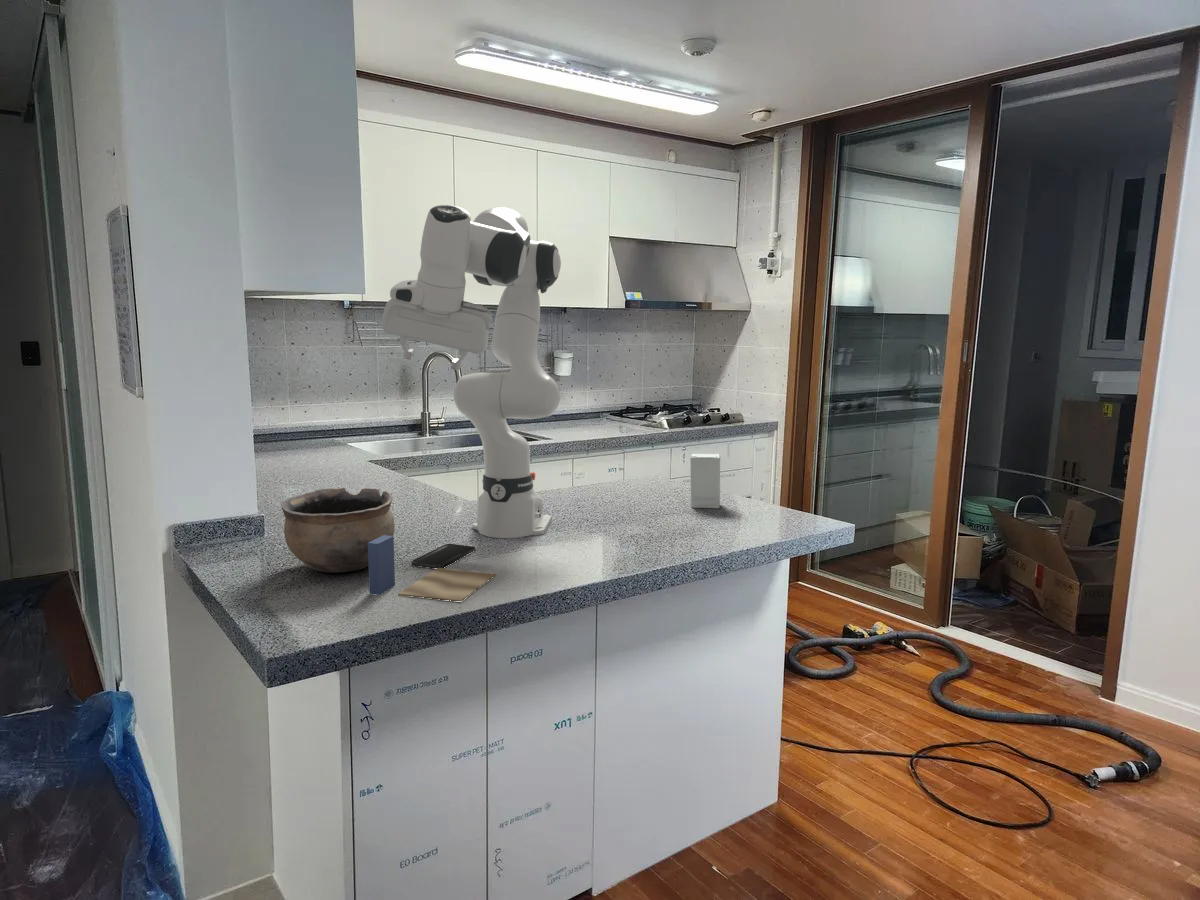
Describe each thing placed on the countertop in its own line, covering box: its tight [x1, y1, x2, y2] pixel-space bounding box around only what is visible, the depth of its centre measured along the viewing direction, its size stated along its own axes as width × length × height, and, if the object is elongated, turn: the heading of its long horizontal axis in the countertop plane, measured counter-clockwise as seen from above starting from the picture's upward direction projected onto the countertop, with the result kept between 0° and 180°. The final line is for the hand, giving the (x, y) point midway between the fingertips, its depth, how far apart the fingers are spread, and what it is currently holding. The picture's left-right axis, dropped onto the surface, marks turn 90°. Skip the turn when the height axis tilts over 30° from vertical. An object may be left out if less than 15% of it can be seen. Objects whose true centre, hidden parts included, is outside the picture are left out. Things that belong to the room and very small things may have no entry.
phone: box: [411, 543, 476, 569], centre depth 168 cm, size 8×1×15 cm
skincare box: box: [690, 453, 721, 509], centre depth 216 cm, size 8×6×15 cm
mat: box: [397, 567, 497, 602], centre depth 150 cm, size 16×13×1 cm
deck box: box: [368, 535, 396, 596], centre depth 147 cm, size 6×2×10 cm, turn 164°
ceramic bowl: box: [280, 487, 396, 573], centre depth 159 cm, size 22×22×15 cm
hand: (431, 363), depth 150 cm, fingers open, 8 cm apart
